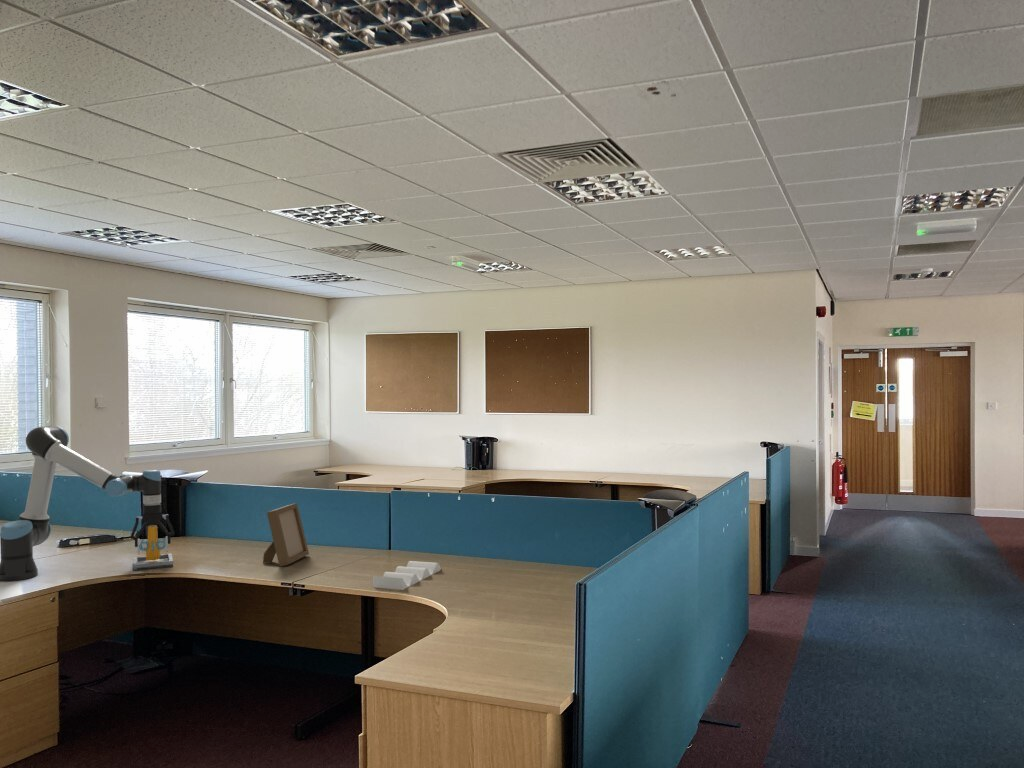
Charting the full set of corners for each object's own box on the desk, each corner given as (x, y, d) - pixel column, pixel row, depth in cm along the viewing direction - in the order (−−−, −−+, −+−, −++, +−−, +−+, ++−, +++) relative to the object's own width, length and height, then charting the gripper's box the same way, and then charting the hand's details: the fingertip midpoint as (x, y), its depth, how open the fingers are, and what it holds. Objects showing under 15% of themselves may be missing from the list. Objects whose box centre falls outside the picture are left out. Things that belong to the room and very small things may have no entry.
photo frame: (309, 556, 369) (308, 503, 369) (288, 566, 347) (287, 510, 347) (279, 555, 371) (278, 502, 371) (257, 566, 350) (256, 510, 350)
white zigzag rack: (442, 570, 337) (441, 558, 337) (402, 591, 305) (402, 578, 305) (414, 568, 342) (414, 557, 342) (373, 588, 309) (373, 575, 309)
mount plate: (133, 570, 345) (133, 564, 345) (133, 562, 361) (133, 557, 361) (173, 566, 352) (173, 560, 352) (171, 558, 368) (171, 553, 368)
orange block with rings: (172, 556, 361) (171, 524, 361) (159, 561, 351) (159, 528, 351) (146, 556, 363) (146, 524, 363) (133, 561, 352) (133, 528, 352)
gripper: (123, 507, 348) (124, 556, 348) (180, 503, 358) (181, 551, 358) (123, 505, 355) (124, 553, 355) (179, 501, 365) (180, 548, 365)
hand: (152, 552), depth 357 cm, fingers closed on orange block with rings, 11 cm apart
